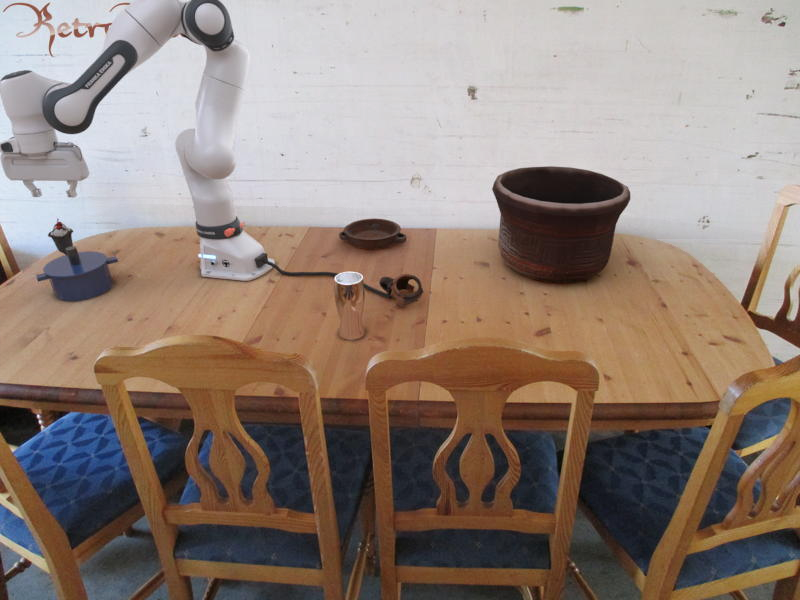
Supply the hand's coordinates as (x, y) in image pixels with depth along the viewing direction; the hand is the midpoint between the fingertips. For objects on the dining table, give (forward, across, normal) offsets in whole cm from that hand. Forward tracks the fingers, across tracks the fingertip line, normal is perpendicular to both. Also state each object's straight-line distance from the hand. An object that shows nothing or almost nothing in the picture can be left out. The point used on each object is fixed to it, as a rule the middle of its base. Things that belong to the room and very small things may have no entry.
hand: (55, 196), depth 147 cm
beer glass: (+27, -78, +19) cm, 85 cm away
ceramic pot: (+28, -131, -21) cm, 136 cm away
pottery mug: (+27, -89, +2) cm, 93 cm away
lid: (+19, 0, 0) cm, 19 cm away
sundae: (+27, +14, -16) cm, 34 cm away
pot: (+27, 0, 0) cm, 27 cm away
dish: (+27, -77, -36) cm, 89 cm away
